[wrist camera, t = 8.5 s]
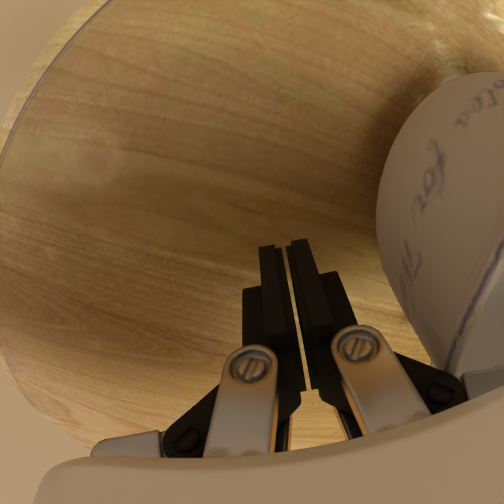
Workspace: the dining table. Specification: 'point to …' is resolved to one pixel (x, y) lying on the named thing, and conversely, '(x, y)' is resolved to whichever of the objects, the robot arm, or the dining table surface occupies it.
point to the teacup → (449, 222)
